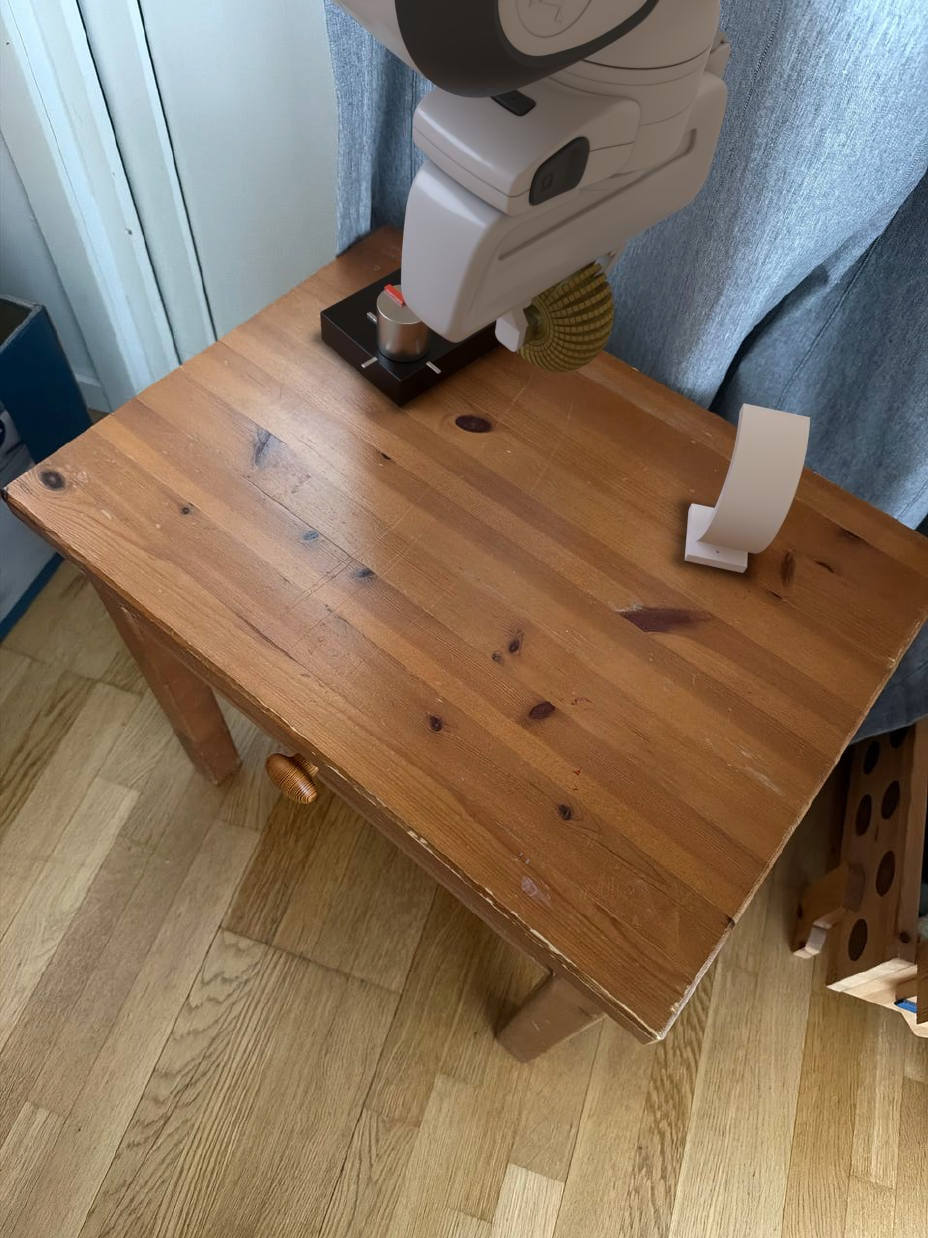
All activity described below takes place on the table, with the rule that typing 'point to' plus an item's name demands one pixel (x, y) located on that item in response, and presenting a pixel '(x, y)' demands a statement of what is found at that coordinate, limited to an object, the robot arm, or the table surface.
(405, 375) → the panel
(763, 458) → the headphone stand
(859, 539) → the table surface
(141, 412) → the table surface
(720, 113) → the robot arm
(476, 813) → the table surface
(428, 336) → the dial
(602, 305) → the sculpture
